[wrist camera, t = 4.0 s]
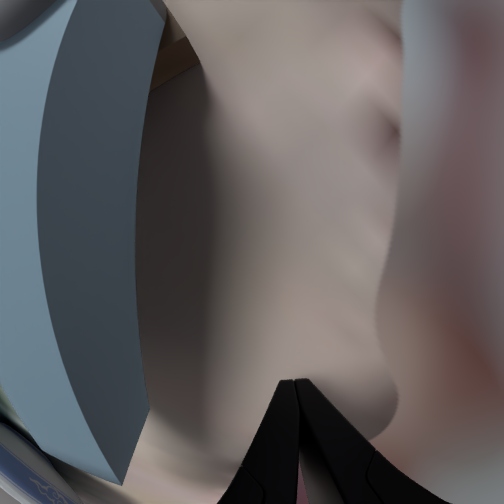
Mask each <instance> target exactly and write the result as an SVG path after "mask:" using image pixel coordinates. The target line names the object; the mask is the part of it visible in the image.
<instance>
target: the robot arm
mask: <svg viewBox="0 0 504 504" xmlns="http://www.w3.org/2000/svg"><path fill="white" fill-rule="evenodd" d="M375 450H376V449H375V448H374V447H373V446H372V445H371V444H370V443H369V442H368V441H367V440H366V439H365V438H364V437H363V436H362V435H361V434H360V432H359V431H358V430H357V429H356V428H355V427H354V426H353V425H352V424H351V423H350V422H349V421H348V420H347V419H346V418H345V417H344V416H343V415H342V414H341V413H340V412H339V411H338V410H337V409H336V408H335V407H334V406H333V405H332V403H331V402H330V401H329V400H328V399H327V398H326V397H325V396H324V395H323V394H322V393H321V392H320V391H319V390H318V389H317V387H316V386H315V385H314V384H313V383H312V382H311V381H310V380H309V379H307V378H302V379H295V380H294V381H293V380H292V379H289V380H280V381H279V383H278V385H277V388H276V390H275V392H274V395H273V397H272V399H271V402H270V404H269V406H268V408H267V411H266V413H265V415H264V417H263V420H262V422H261V424H260V426H259V428H258V430H257V433H256V435H255V437H254V439H253V441H252V443H251V445H250V447H249V449H248V451H247V453H246V455H245V457H244V459H243V461H242V463H241V466H240V467H239V469H238V471H237V473H236V475H235V477H234V478H233V480H232V482H231V483H230V485H229V487H228V488H227V490H226V492H225V493H224V494H223V496H222V497H221V499H220V500H219V501H218V503H217V504H296V501H297V484H298V466H299V462H300V466H301V471H302V475H303V480H304V484H305V489H306V493H307V498H308V502H309V504H451V503H449V502H446V501H444V500H442V499H441V498H439V497H437V496H436V495H434V494H432V493H431V492H430V491H428V490H426V489H425V488H423V487H422V486H420V485H419V484H418V483H416V482H415V481H413V480H412V479H410V478H409V477H408V476H406V475H405V474H404V473H402V472H401V471H400V470H398V469H397V468H396V467H395V466H394V465H392V464H391V463H390V462H389V461H388V460H387V459H386V458H385V457H383V455H382V454H381V453H380V452H379V451H377V450H376V451H375Z"/></svg>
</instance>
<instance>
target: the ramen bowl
mask: <svg viewBox="0 0 504 504" xmlns="http://www.w3.org/2000/svg"><path fill="white" fill-rule="evenodd" d="M0 487H1V488H2V489H3V490H4V491H6V492H7V493H8V494H10V495H11V496H12V497H14V498H15V499H16V500H17V501H19V502H20V503H22V504H83V502H82V501H81V500H80V498H79V497H78V496H77V494H76V493H75V492H74V491H73V489H72V488H71V487H70V486H69V485H68V484H67V483H66V481H65V480H64V479H63V478H62V477H61V476H60V475H59V473H58V472H57V471H56V470H55V469H54V467H53V465H52V464H51V462H50V461H49V459H48V458H47V457H46V456H45V455H44V454H43V453H42V452H41V451H40V450H39V449H37V448H36V447H35V446H34V445H33V444H32V443H31V442H30V441H28V440H27V439H26V438H25V437H23V436H22V435H21V434H20V433H18V432H17V431H16V430H14V429H13V428H12V427H10V426H8V425H6V424H4V423H1V422H0Z"/></svg>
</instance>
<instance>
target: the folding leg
mask: <svg viewBox="0 0 504 504" xmlns="http://www.w3.org/2000/svg"><path fill="white" fill-rule="evenodd" d="M166 14H167V12H166V7H165V4H164V2H163V0H0V384H1V386H2V388H3V390H4V392H5V394H6V395H7V397H8V399H9V401H10V403H11V404H12V406H13V408H14V409H15V411H16V413H17V414H18V416H19V417H20V419H21V421H22V422H23V424H24V425H25V427H26V428H27V430H28V431H29V433H30V434H31V436H32V437H33V438H34V440H35V441H36V443H37V444H38V445H39V447H40V448H41V449H42V450H43V451H45V452H46V453H48V454H50V455H52V456H54V457H56V458H57V459H59V460H61V461H63V462H65V463H67V464H69V465H72V466H74V467H76V468H78V469H80V470H82V471H85V472H87V473H89V474H92V475H94V476H97V477H99V478H102V479H104V480H107V481H109V482H112V483H115V484H118V485H121V486H122V484H123V482H124V479H125V476H126V473H127V470H128V467H129V464H130V461H131V459H132V456H133V453H134V450H135V448H136V445H137V442H138V439H139V437H140V434H141V431H142V429H143V426H144V423H145V421H146V418H147V415H148V413H149V410H150V408H149V402H148V397H147V391H146V384H145V378H144V371H143V364H142V356H141V347H140V338H139V327H138V315H137V300H136V277H135V219H136V196H137V181H138V169H139V158H140V149H141V140H142V133H143V125H144V118H145V112H146V106H147V100H148V94H149V89H150V84H151V79H152V74H153V69H154V65H155V60H156V56H157V52H158V48H159V44H160V40H161V36H162V32H163V29H164V25H165V21H166Z"/></svg>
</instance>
